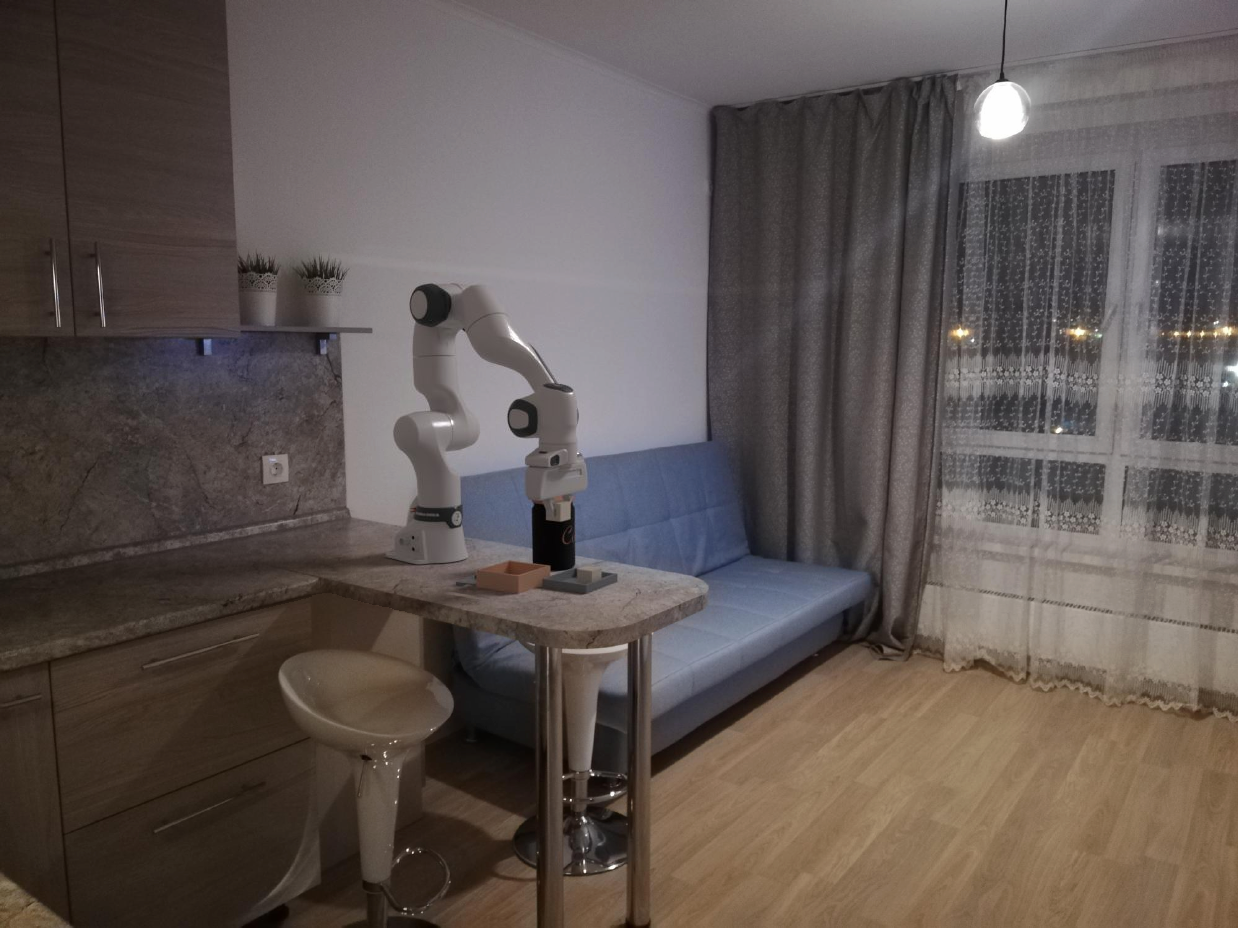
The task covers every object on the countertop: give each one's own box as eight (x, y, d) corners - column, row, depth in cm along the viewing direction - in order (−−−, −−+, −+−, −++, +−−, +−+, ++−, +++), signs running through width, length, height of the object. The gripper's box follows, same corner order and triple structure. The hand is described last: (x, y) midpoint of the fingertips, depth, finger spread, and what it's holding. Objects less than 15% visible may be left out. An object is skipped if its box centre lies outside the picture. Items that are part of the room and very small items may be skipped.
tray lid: (455, 585, 213) (455, 578, 213) (479, 575, 222) (478, 569, 222) (481, 587, 211) (481, 581, 210) (504, 578, 220) (503, 571, 219)
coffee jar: (569, 574, 224) (568, 501, 222) (527, 572, 226) (526, 500, 224) (579, 565, 234) (579, 495, 232) (539, 563, 236) (538, 494, 234)
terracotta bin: (476, 589, 209) (476, 569, 209) (509, 578, 219) (509, 560, 219) (518, 596, 203) (518, 576, 203) (550, 584, 213) (550, 565, 213)
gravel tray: (542, 589, 209) (542, 578, 209) (574, 577, 220) (574, 567, 220) (586, 596, 203) (586, 585, 202) (617, 584, 214) (617, 573, 213)
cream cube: (546, 519, 211) (546, 502, 210) (556, 517, 214) (556, 500, 213) (560, 521, 208) (560, 504, 208) (570, 518, 212) (570, 501, 211)
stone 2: (577, 586, 209) (577, 569, 209) (587, 582, 213) (586, 565, 212) (592, 588, 207) (591, 571, 207) (601, 584, 211) (601, 567, 210)
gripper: (572, 450, 220) (571, 507, 222) (520, 458, 203) (520, 520, 204) (594, 452, 217) (593, 509, 218) (543, 460, 199) (543, 523, 201)
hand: (557, 515), depth 211 cm, fingers closed on cream cube, 4 cm apart
